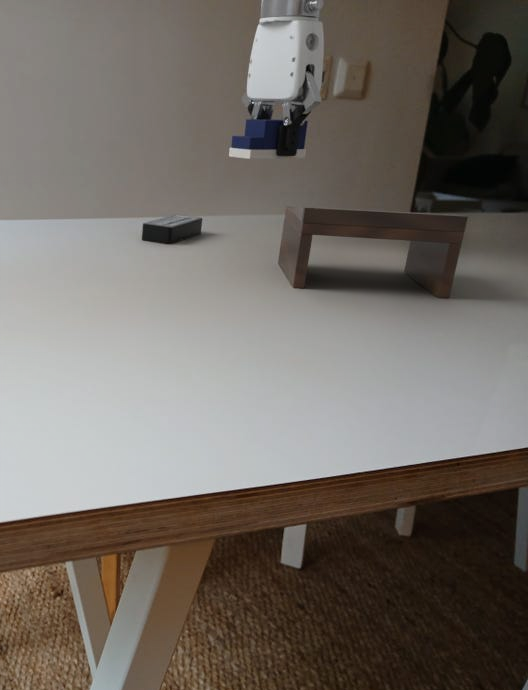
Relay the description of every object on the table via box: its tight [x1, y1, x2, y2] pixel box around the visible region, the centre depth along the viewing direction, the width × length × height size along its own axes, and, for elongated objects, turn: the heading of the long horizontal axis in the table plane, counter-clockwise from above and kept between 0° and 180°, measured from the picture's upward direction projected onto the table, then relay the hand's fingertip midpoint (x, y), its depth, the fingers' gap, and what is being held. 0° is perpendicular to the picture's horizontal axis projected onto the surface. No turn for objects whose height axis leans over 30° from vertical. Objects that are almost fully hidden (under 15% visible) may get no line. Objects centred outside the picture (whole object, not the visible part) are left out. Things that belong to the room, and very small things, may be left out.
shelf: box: [277, 206, 469, 299], centre depth 83 cm, size 16×12×9 cm
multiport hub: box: [141, 214, 203, 245], centre depth 105 cm, size 4×11×2 cm, turn 146°
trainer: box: [228, 118, 309, 160], centre depth 103 cm, size 10×4×5 cm, turn 116°
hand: (273, 153), depth 104 cm, fingers closed on trainer, 4 cm apart
